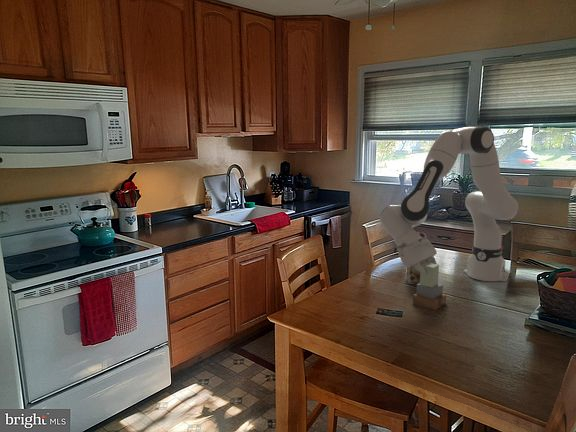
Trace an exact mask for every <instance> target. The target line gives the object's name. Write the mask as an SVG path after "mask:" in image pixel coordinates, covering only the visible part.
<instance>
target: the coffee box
mask: <svg viewBox="0 0 576 432" xmlns="http://www.w3.org/2000/svg"><path fill="white" fill-rule="evenodd" d="M426 262H428V263H431V262H430V261H429V260H425V261H423V262H421V263H420V266H421V265H422V264H424V263H426ZM405 279H406V281H407V283H408V284H409V285H412V284H413V285H417V284H419V283H420V271H418V270H416V269H415V268H414V266H413V267H411V268H407V267H406V278H405Z"/></svg>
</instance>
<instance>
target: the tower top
mask: <svg viewBox="0 0 576 432" xmlns="http://www.w3.org/2000/svg"><path fill="white" fill-rule="evenodd" d="M443 291H444V284H441V283H438V285H436V286H435V287H433V288H430V287H426V286H422V285H420V283H419V284H416V293H415V294H418V295H421V296H424V297H427V298H430V299H434V298H436V297H438V296H440V295H442V294H444V293H443Z"/></svg>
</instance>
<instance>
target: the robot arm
mask: <svg viewBox="0 0 576 432" xmlns="http://www.w3.org/2000/svg"><path fill="white" fill-rule="evenodd" d="M459 155H469V163H470V169H471V170H470V171H471V177H472V182H473V184H474V185H475V186H476V187H477V188H478V190H477V191H472V192H469V193H468V194H467V196H466V197H465V200H464V205H465V208H466V209H467V211H468V212H469V214H470V216H471V218H472V224H473V229H474V230H473V233H474V234H473V235H474V236H473V237H474V238H473V245H472V248H471V250H472V251H471V253H472V254H470V255H469V256H468V258H467V259H468V260H467V266H466V268H465V269H464V270H463V273H464V274H466V275H467V276H468V277H469V278H472V279H474V280H478V281H484V282H507V281H508V279H509V276H510V274H511V270H510V269H507V268H506V259H504V258H503V256H502V254H503V249H504V246H501V245H502V237H503V235H502V234H503V231H502V229H501V228H500V226H499V225H498V224H497V221H496V220H501V221H504V220H505V221H508V220H511V219H513V218H515V217H516V216H517V214H518V212H519V203H518V201H517V200H516V198H514V197H513V196H512V195H511V194H510V192H509V191H508V189H507V187H506V185H505V184H504V181H503V178H502V172H501V168H500V161H499V155H498V151H497V147H496V145H495V136H494V133H493V131H492V130H491V128H489V127H487V126H483V125H482V126H481V125H480V126H466V127H459V128H453V129H450V130H444V131H442V132H441V133H439V135H438V137H436V139H435V141H434V142H433V144H432V146H431V147H430V149H429V151H428V153H427V156H426V158H425V161H424V164H423V169H422V170H423V171H422V173H421V176H420V177H419V180H418V181H417V183H416V185H415V187H414V189H413V190H412V191H411V192H410V193H409V194H408V195H406V196H405V198H403V200H402V202H401V204H397V205H396V204H389V205H388V206H386V207H385V208H384V209H383V210H382V212H381V213H380V216H379V221H380V223H381V224H382V226H383V228H384V229H385V231H386V232H387V233H388V235H390V236H391V237H392V238H393V241H394V243H395V244H396V251H397V253H398V257H399V259H400V260H401V261H402V263H403V265H404V266H405V267H406V269H407V268H411V267H413V266H414V268H415V269H416V270H418V271H420V273H421V274H422V275H424V274H426V273H427V271H426V269H425V268H423V267H421V266H420V263H421V262H423V261H425V260H429V261H430V262H431V263H433V264H438V263H437V261H436V258H435V256H436V255H437V254H438V253H437V250H436V248H435V246H434V244H432V243H431V241H430V240H429V239H427V235H426V233H424V232H419V231H416V230H415V229H414V228H416V227H418V226H420V225H422V224H423V223H425V221H426V220H427V216H428V214H429V213H428V212H429V209H430V202H429V200H430V196H431V194H432V193H433V190H434V188H435V187H436V185H437V183H438V181H439V180H440V179H441V178H445V177H446V176H447V175H448V174H449V173H450V171H451V170H452V169H453V167H454V165H455V164H456V162H457V159H458V157H459Z"/></svg>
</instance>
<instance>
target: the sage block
mask: <svg viewBox="0 0 576 432" xmlns="http://www.w3.org/2000/svg"><path fill="white" fill-rule="evenodd" d="M421 267H423V268H425V269H426V271H427V273H426V274H424V275H422V274H421V273H420V285H422V286H426V287H430V288H433V287H435V286H436V285H438V284H439V273H440V272H439V270H440V264H439V263H437V264H433V263H428V262H426V263H424V264H422V265H421Z"/></svg>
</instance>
